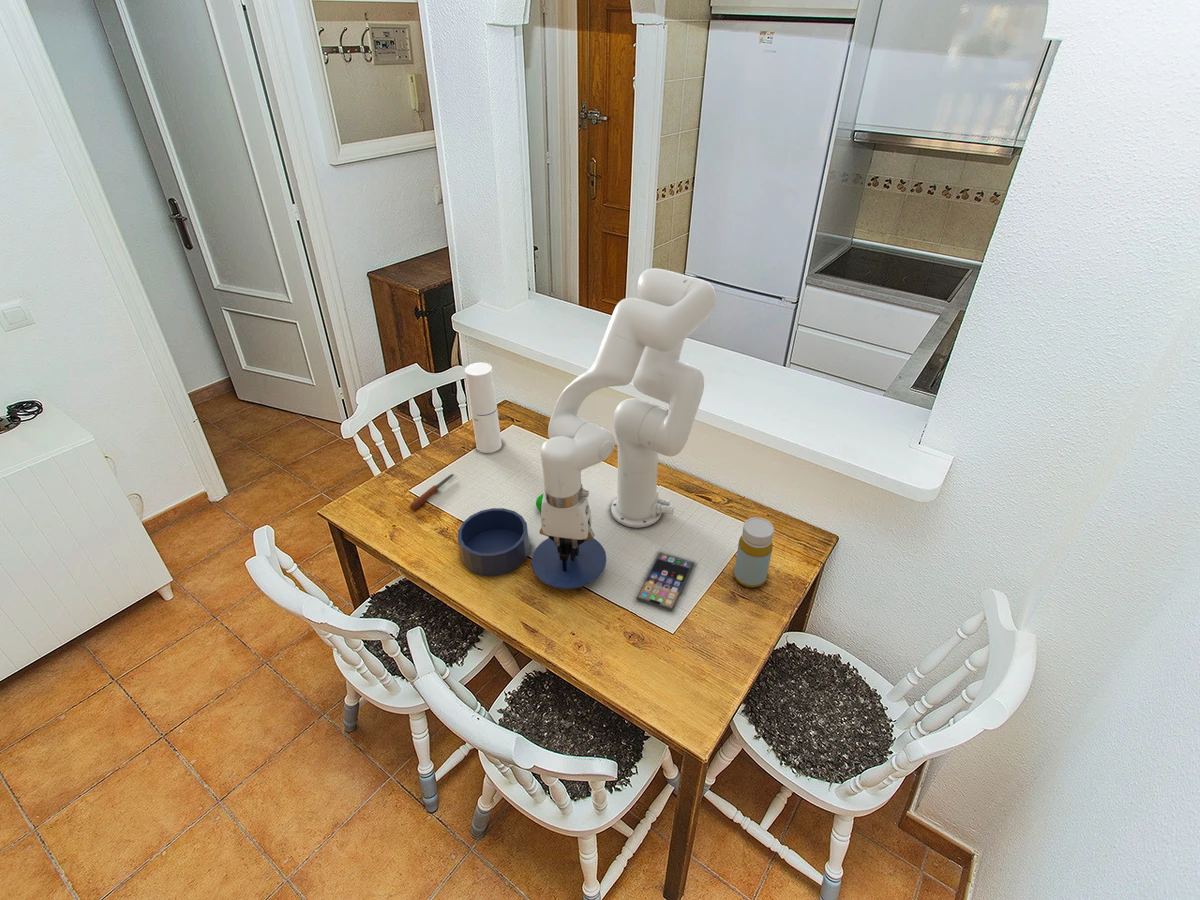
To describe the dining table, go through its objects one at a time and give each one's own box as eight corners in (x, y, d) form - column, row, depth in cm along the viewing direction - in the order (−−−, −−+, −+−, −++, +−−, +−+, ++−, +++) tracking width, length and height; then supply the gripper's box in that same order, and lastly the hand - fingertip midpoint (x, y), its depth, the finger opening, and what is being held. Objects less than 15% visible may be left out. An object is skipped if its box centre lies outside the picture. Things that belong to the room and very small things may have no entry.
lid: (612, 540, 146) (612, 520, 142) (598, 596, 133) (597, 575, 129) (543, 531, 149) (541, 511, 145) (522, 585, 136) (519, 564, 132)
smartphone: (693, 564, 143) (693, 560, 142) (672, 612, 132) (672, 609, 131) (659, 554, 146) (660, 550, 145) (636, 601, 135) (636, 597, 134)
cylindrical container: (496, 454, 178) (486, 376, 164) (472, 451, 179) (460, 374, 165) (505, 440, 184) (495, 363, 169) (481, 437, 185) (470, 361, 170)
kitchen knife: (414, 511, 159) (413, 505, 158) (410, 510, 159) (409, 504, 158) (456, 478, 170) (455, 472, 168) (452, 476, 170) (451, 470, 169)
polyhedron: (560, 511, 158) (559, 497, 155) (543, 519, 156) (542, 505, 153) (549, 501, 161) (548, 486, 159) (533, 508, 159) (531, 494, 156)
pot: (537, 532, 152) (535, 512, 148) (517, 581, 140) (514, 560, 136) (476, 524, 155) (472, 504, 151) (451, 571, 142) (446, 550, 139)
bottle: (759, 593, 136) (769, 543, 127) (728, 581, 139) (736, 531, 130) (770, 573, 141) (780, 523, 132) (740, 561, 144) (749, 511, 135)
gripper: (605, 485, 130) (606, 548, 141) (531, 477, 133) (539, 539, 144) (597, 509, 124) (600, 573, 135) (520, 500, 127) (529, 563, 138)
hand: (568, 555), depth 140 cm, fingers closed on lid
